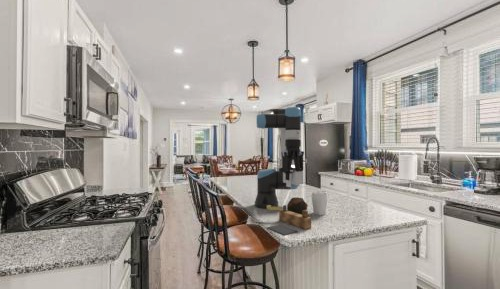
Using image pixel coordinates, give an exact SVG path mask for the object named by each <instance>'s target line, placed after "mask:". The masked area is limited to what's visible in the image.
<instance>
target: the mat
mask: <svg viewBox="0 0 500 289" xmlns="http://www.w3.org/2000/svg"><path fill="white" fill-rule="evenodd" d="M266 228H267V230H271V231H273V232H274V233H275V232H276V233H278V234H280V235H283V236H288V235H291V234H295V233H298V230H296V229H293V228H290V227H288V226H286V225H284V224H280V223H279V224H276V225H271V226H268V227H266Z"/></svg>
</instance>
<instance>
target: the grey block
mask: <svg viewBox="0 0 500 289" xmlns="http://www.w3.org/2000/svg"><path fill="white" fill-rule="evenodd" d="M290 174H291V184H294V185H299V184H300V185H303V184H304V170H303V171H296V170H290ZM283 183H286V174H285V173H284V172H283Z"/></svg>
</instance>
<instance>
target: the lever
mask: <svg viewBox="0 0 500 289" xmlns="http://www.w3.org/2000/svg"><path fill="white" fill-rule="evenodd" d="M266 210H271V211H281V210H283V206H279V205H278V206H270V205H267V208H266Z"/></svg>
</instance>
